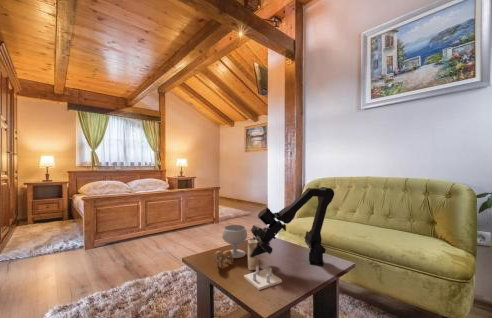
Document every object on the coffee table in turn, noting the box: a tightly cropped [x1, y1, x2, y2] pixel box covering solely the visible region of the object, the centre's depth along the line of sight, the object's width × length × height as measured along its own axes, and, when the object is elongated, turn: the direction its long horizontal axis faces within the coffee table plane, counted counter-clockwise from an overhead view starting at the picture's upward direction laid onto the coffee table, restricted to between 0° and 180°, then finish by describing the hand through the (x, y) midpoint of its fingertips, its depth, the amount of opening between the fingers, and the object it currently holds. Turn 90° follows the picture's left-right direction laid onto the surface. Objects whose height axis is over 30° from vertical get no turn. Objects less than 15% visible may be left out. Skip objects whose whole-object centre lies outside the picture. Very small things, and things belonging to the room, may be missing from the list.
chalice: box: [221, 224, 248, 259], centre depth 132 cm, size 14×14×15 cm
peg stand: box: [243, 266, 283, 291], centre depth 103 cm, size 12×12×4 cm
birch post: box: [247, 239, 260, 271], centre depth 115 cm, size 4×4×13 cm
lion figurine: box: [213, 249, 235, 270], centre depth 118 cm, size 15×5×9 cm, turn 152°
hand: (250, 254), depth 115 cm, fingers closed on birch post, 4 cm apart
